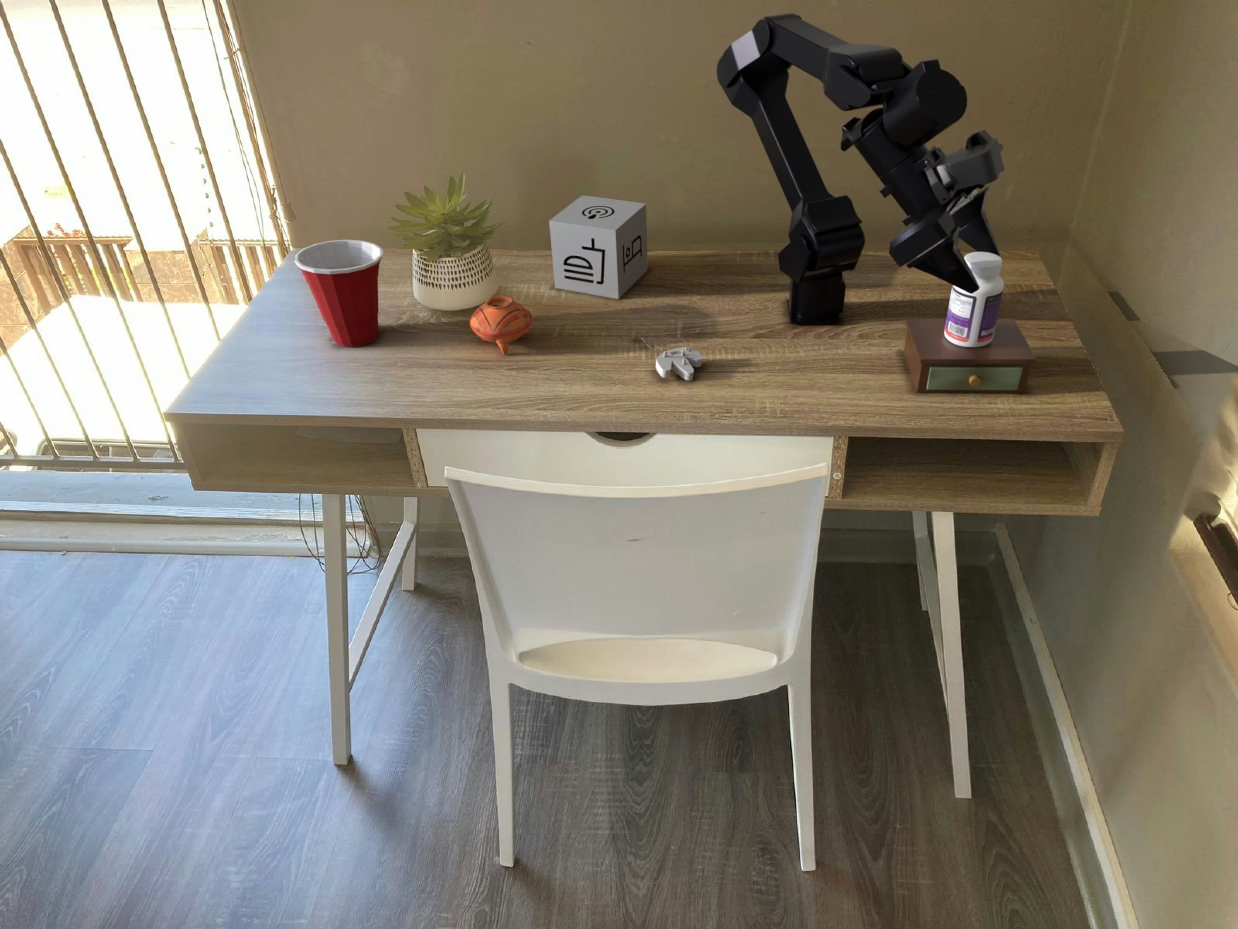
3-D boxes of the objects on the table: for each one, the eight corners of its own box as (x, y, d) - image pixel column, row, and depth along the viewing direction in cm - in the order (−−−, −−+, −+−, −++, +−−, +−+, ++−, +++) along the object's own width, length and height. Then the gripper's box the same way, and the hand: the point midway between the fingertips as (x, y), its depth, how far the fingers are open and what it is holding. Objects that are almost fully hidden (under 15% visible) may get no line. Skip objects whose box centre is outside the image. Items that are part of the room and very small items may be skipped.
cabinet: (915, 397, 108) (921, 362, 105) (900, 352, 116) (905, 318, 113) (1029, 397, 107) (1038, 362, 104) (1006, 352, 115) (1013, 318, 112)
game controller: (681, 388, 111) (681, 368, 110) (608, 359, 118) (607, 340, 116) (710, 368, 115) (710, 349, 113) (638, 340, 121) (637, 322, 119)
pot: (461, 355, 119) (457, 302, 116) (487, 340, 126) (484, 289, 123) (519, 361, 117) (517, 307, 114) (543, 344, 124) (541, 293, 121)
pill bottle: (987, 326, 111) (1003, 248, 105) (997, 349, 106) (1014, 269, 101) (939, 325, 111) (953, 248, 106) (947, 348, 107) (962, 269, 101)
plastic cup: (415, 333, 125) (399, 248, 118) (346, 365, 119) (325, 278, 112) (368, 309, 131) (350, 227, 124) (300, 339, 125) (277, 254, 118)
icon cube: (618, 298, 131) (615, 230, 125) (555, 287, 134) (549, 220, 128) (647, 269, 138) (646, 203, 132) (586, 260, 141) (582, 195, 136)
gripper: (938, 139, 90) (1034, 268, 92) (986, 89, 103) (1069, 203, 104) (849, 206, 98) (939, 323, 100) (904, 152, 111) (983, 257, 112)
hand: (986, 274), depth 104 cm, fingers open, 9 cm apart
